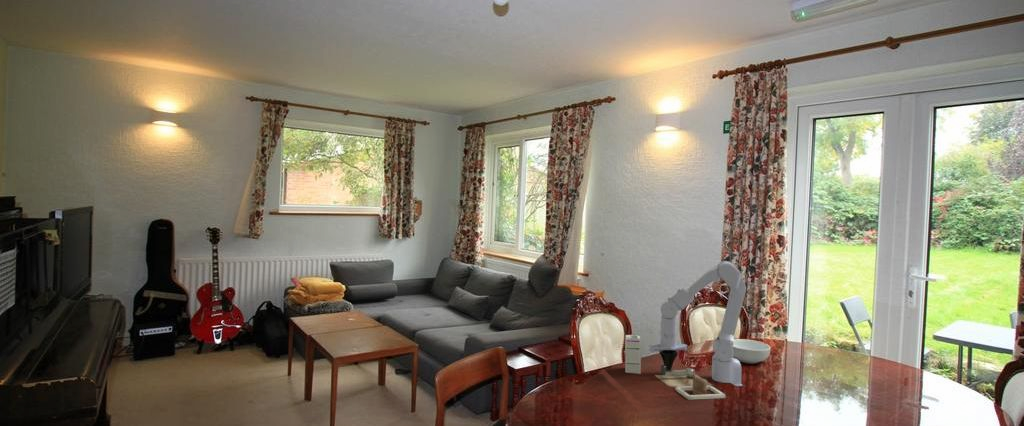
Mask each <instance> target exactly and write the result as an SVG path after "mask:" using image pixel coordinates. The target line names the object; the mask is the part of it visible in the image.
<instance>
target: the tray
mask: <svg viewBox="0 0 1024 426" xmlns="http://www.w3.org/2000/svg"><path fill="white" fill-rule="evenodd" d="M674 390H675V392H677V393H679V394H680V395H682V396H683V397H684V398H685V399H687V400H692V401H693V400H710V399H711V400H712V399H726V397H727V396H726V394H725V393H724V392H722V391H720V390H719V389H717V388H716V387H714V386H713V385H707V391H708V390H709V391H711V392H712V393H710V394H709V393H707V394H706V395H694V394H689V393H687V392H686V391H693V386H676V387H674Z"/></svg>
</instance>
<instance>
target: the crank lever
mask: <svg viewBox="0 0 1024 426" xmlns="http://www.w3.org/2000/svg"><path fill="white" fill-rule="evenodd" d="M695 374H696V370H695V368H691V367H690V368H689V367H686V368H685V369H671V370H666V366H665V365H664V364H661V365H660V375H661V376H662V377H677V376H687V377H691V378H693V377H695Z"/></svg>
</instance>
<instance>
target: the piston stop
mask: <svg viewBox="0 0 1024 426" xmlns="http://www.w3.org/2000/svg"><path fill="white" fill-rule="evenodd" d="M707 382H708V380H707V379H706V378H702V377H701V378H693V390H692V395H706V394H708V390H707Z"/></svg>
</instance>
